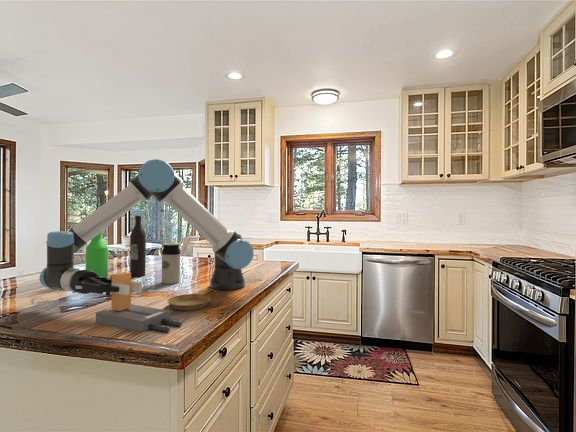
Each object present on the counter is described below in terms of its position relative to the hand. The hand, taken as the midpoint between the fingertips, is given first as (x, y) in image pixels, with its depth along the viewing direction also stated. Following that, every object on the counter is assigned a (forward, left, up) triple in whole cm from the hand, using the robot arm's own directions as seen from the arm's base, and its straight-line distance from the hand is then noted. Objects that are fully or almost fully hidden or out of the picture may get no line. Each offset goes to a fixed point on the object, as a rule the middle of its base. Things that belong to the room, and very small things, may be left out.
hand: (134, 288), depth 103 cm
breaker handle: (+5, -3, -7) cm, 9 cm away
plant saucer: (-14, -16, -10) cm, 24 cm away
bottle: (+33, -58, -10) cm, 68 cm away
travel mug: (0, -55, -10) cm, 56 cm away
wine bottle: (+19, -71, -10) cm, 74 cm away
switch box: (-3, +1, -10) cm, 10 cm away
